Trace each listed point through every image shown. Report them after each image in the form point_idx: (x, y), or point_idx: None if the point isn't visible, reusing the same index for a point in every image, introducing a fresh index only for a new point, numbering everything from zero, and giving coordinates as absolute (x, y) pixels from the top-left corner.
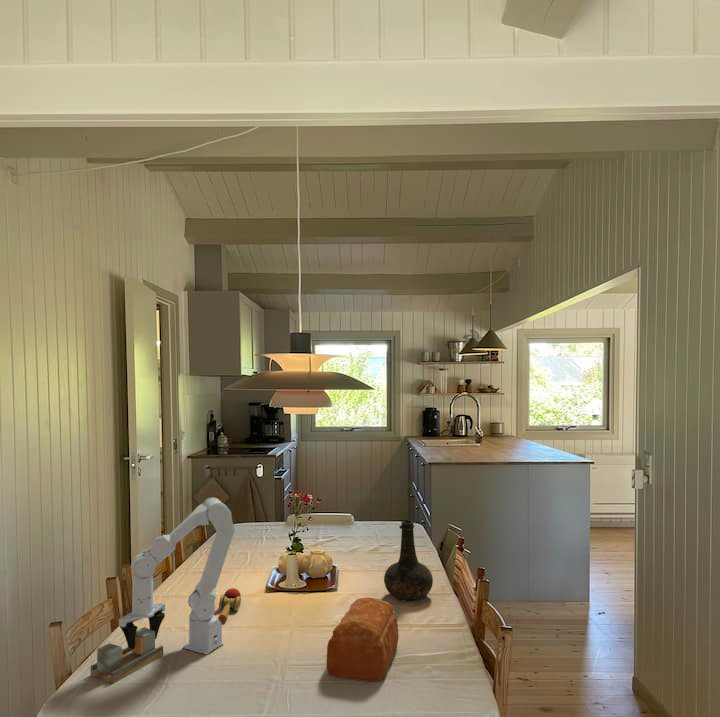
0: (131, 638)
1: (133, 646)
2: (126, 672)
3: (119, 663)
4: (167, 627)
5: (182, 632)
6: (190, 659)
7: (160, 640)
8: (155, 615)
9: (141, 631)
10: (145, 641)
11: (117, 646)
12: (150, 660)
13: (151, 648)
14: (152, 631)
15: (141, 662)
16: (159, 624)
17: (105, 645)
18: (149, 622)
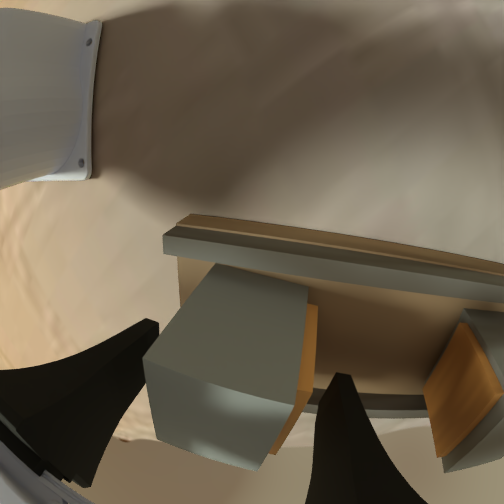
0: (381, 446)
1: (349, 385)
2: (475, 265)
3: (488, 331)
4: (57, 338)
5: (39, 275)
6: (162, 39)
7: (106, 319)
8: (46, 458)
9: (217, 441)
10: (278, 352)
11: (500, 425)
12: (297, 232)
13: (234, 286)
14: (161, 376)
15: (378, 252)
16: (66, 367)
17: (470, 465)
18: (110, 435)
